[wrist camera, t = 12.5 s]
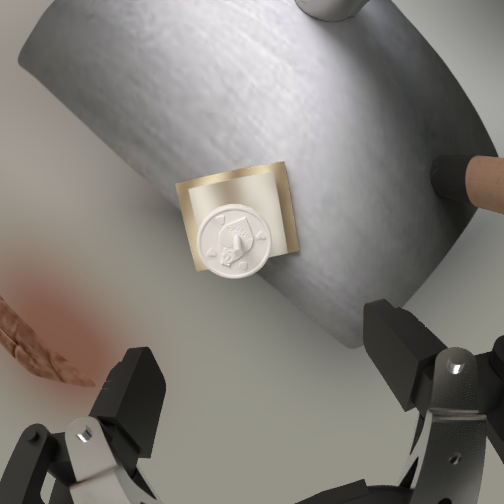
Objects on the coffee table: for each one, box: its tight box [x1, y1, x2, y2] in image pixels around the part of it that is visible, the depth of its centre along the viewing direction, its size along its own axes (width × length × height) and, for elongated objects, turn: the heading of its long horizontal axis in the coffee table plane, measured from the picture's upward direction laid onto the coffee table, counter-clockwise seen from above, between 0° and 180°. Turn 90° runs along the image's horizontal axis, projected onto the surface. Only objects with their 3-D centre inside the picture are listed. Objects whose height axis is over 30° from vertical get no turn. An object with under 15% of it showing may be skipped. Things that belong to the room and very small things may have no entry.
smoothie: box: [197, 204, 272, 279], centre depth 25 cm, size 6×6×14 cm
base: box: [175, 161, 299, 272], centre depth 34 cm, size 14×12×4 cm
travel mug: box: [431, 156, 504, 214], centre depth 26 cm, size 8×8×20 cm
